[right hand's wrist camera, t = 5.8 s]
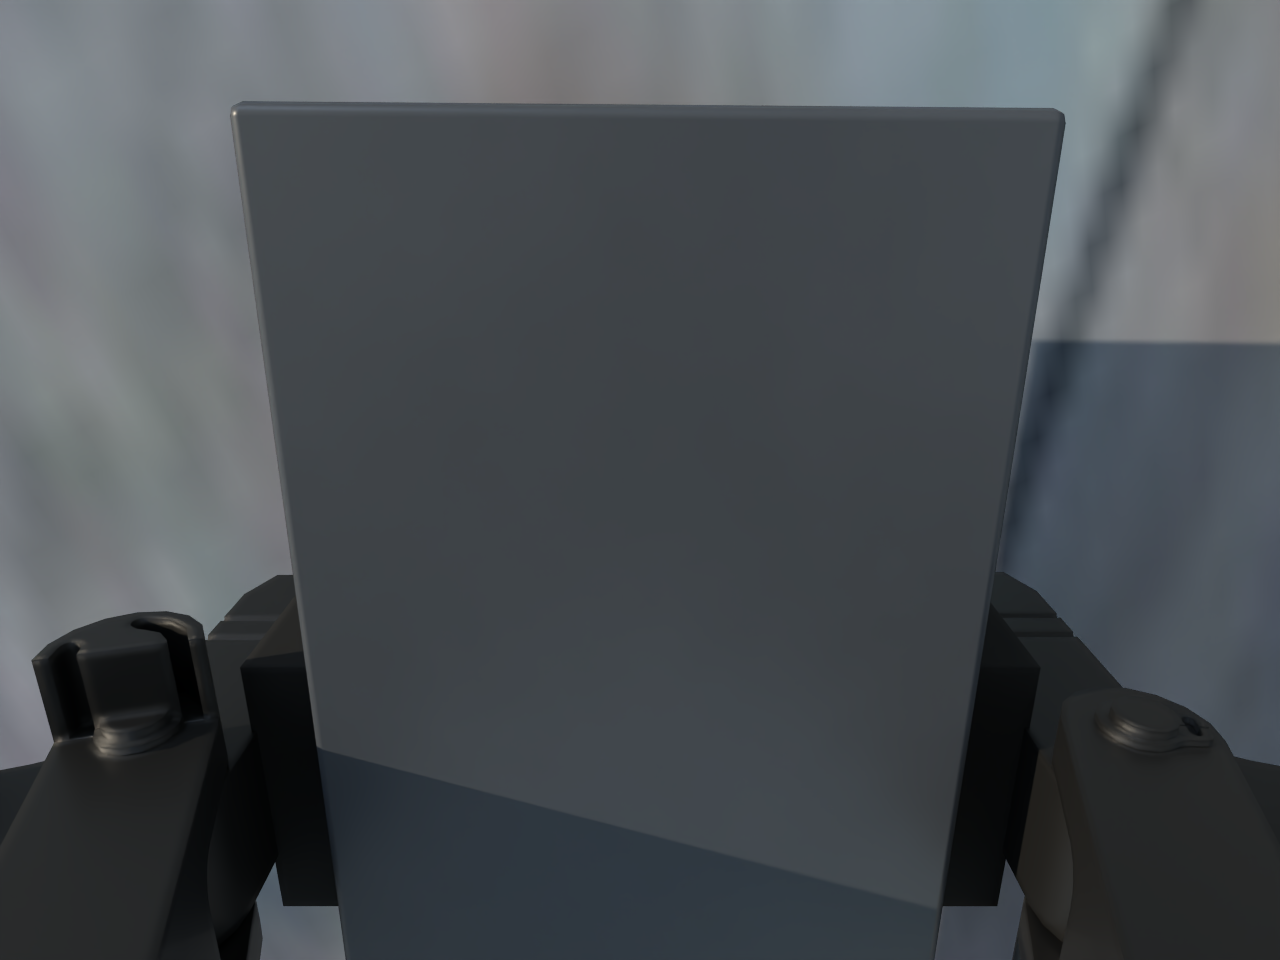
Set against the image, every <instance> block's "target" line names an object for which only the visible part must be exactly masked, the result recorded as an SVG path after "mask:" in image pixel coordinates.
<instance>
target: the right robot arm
mask: <svg viewBox="0 0 1280 960" xmlns="http://www.w3.org/2000/svg"><path fill="white" fill-rule="evenodd" d="M1056 614H1057V613H1056V612H1055V611H1054V610H1053V609H1052V608H1051V607H1050V606H1049V605H1048V603H1047V602H1046V601H1045V600H1044V599H1043V598H1042V597H1041V596H1040V594H1039V593H1038V592H1037V591H1035V590H1034V589H1032V588H1030V587H1028V586H1027V585H1025V584H1023V583H1021V582H1020V581H1018V580H1016V579H1014V578H1013V577H1011V576H1009V575H1007V574H1006V573H1004V572H995V575H994V582H993V588H992V595H991V601H990V607H989V614H988V620H987V626H986V633H985V639H984V645H983V652H982V658H981V665H980V671H979V677H978V684H977V690H976V696H975V703H974V709H973V716H972V722H971V728H970V735H969V741H968V747H967V754H966V760H965V766H964V773H963V779H962V786H961V792H960V798H959V805H958V811H957V817H956V824H955V830H954V836H953V843H952V849H951V856H950V862H949V868H948V875H947V881H946V887H945V894H944V900H943V906H997V904H998V899H999V893H1000V888H1001V882H1002V877H1003V871H1004V866H1005V860H1007V862H1008V863H1009V865H1010V867H1011V869H1012V871H1013V873H1014V875H1015V877H1016V879H1017V881H1018V883H1019V885H1020V887H1021V889H1022V891H1023V893H1024V895H1025V897H1024V902H1023V907H1022V912H1021V918H1020V923H1019V928H1018V933H1017V938H1016V943H1015V948H1014V953H1013V958H1012V960H1280V766H1276V765H1271V764H1266V763H1261V762H1255V761H1250V760H1246V759H1242V758H1238V757H1234V756H1233V754H1232V752H1231V750H1230V748H1229V747H1228V745H1227V743H1226V741H1225V740H1224V739H1223V738H1222V736H1221V735H1220V734H1219V733H1218V732H1217V731H1216V729H1215V728H1214V727H1213V726H1212V725H1211V724H1210V723H1209V722H1207V721H1206V720H1204V719H1203V718H1201V717H1200V716H1198V715H1197V714H1195V713H1194V712H1192V711H1191V710H1189V709H1188V708H1186V707H1184V706H1181V705H1179V704H1176V703H1174V702H1171V701H1169V700H1167V699H1164V698H1162V697H1159V696H1157V695H1153V694H1149V693H1145V692H1140V691H1136V690H1132V689H1127V688H1123V687H1122V686H1121V685H1120V684H1119V683H1118V682H1117V681H1116V680H1115V678H1114V677H1113V676H1112V675H1111V674H1110V673H1109V672H1108V671H1107V670H1106V668H1105V667H1104V666H1103V665H1102V664H1101V663H1100V662H1099V661H1098V659H1097V658H1096V657H1095V656H1094V655H1093V654H1092V653H1091V652H1090V650H1089V649H1088V648H1087V647H1086V646H1085V645H1084V644H1083V643H1082V641H1081V640H1080V639H1079V638H1078V637H1073V631H1072V630H1071V629H1070V628H1069V627H1068V626H1067V625H1066V624H1065V622H1064V621H1063V620H1062V619H1061V618H1057V616H1056ZM32 664H33V668H34V671H35V675H36V678H37V682H38V686H39V689H40V693H41V697H42V700H43V704H44V707H45V711H46V715H47V718H48V722H49V726H50V729H51V733H52V736H53V740H54V744H53V746H52V748H51V750H50V752H49V754H48V756H47V758H46V760H45V761H43V762H39V763H35V764H31V765H25V766H20V767H15V768H10V769H5V770H0V960H260V954H261V946H262V939H263V938H262V931H261V924H260V918H259V912H258V907H257V902H256V899H257V897H258V895H259V893H260V891H261V889H262V887H263V885H264V883H265V881H266V879H267V877H268V875H269V873H270V871H271V869H272V867H273V865H274V863H276V868H277V874H278V879H279V885H280V890H281V896H282V901H283V906H338V899H337V891H336V884H335V877H334V869H333V862H332V855H331V848H330V840H329V833H328V826H327V818H326V811H325V804H324V796H323V789H322V782H321V775H320V767H319V760H318V753H317V745H316V738H315V731H314V724H313V716H312V709H311V702H310V694H309V687H308V680H307V672H306V665H305V658H304V651H303V643H302V636H301V629H300V621H299V614H298V607H297V599H296V592H295V585H294V578H293V575H277V576H275V577H273V578H272V579H270V580H268V581H266V582H265V583H263V584H261V585H260V586H258V587H256V588H254V589H253V590H251V591H249V592H247V593H246V594H244V595H243V596H242V598H241V599H240V600H239V601H238V602H237V603H236V604H235V605H234V607H233V608H232V609H231V610H230V611H229V612H228V613H227V614H226V616H225V620H224V621H220V622H219V624H218V625H217V626H216V627H215V628H214V629H213V630H212V631H211V633H210V634H209V635H208V640H205V637H204V631H203V626H202V624H201V623H199V622H198V621H196V620H195V619H193V618H192V617H190V616H189V615H183V614H178V613H173V612H167V611H163V612H137V613H132V614H127V615H122V616H117V617H112V618H107V619H104V620H101V621H98V622H95V623H92V624H89V625H87V626H84V627H81V628H78V629H75V630H73V631H71V632H69V633H68V634H66V635H64V636H62V637H60V638H59V639H57V640H55V641H53V642H51V643H50V644H48V645H47V646H46V647H45V648H44V649H43V650H42V651H41V652H40V653H39V654H38V655H37V656H36V657H35V658H33V659H32Z"/></svg>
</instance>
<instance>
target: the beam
mask: <svg viewBox="0 0 1280 960" xmlns="http://www.w3.org/2000/svg"><path fill="white" fill-rule="evenodd" d="M230 118H231V125H232V133H233V140H234V147H235V154H236V162H237V169H238V176H239V184H240V191H241V198H242V205H243V213H244V220H245V227H246V235H247V242H248V249H249V257H250V264H251V271H252V278H253V286H254V293H255V300H256V308H257V315H258V322H259V330H260V337H261V344H262V351H263V359H264V366H265V373H266V381H267V388H268V395H269V402H270V410H271V417H272V424H273V432H274V439H275V446H276V454H277V461H278V468H279V475H280V483H281V490H282V497H283V505H284V512H285V519H286V527H287V534H288V541H289V548H290V556H291V563H292V570H293V578H294V585H295V592H296V599H297V607H298V614H299V621H300V629H301V636H302V643H303V651H304V658H305V665H306V672H307V680H308V687H309V694H310V702H311V709H312V716H313V724H314V731H315V738H316V745H317V753H318V760H319V767H320V775H321V782H322V789H323V796H324V804H325V811H326V818H327V826H328V833H329V840H330V848H331V855H332V862H333V869H334V877H335V884H336V891H337V899H338V906H339V913H340V921H341V928H342V935H343V942H344V950H345V957H346V960H934V957H935V951H936V945H937V938H938V932H939V926H940V919H941V913H942V906H943V900H944V894H945V887H946V881H947V875H948V868H949V862H950V856H951V849H952V843H953V836H954V830H955V824H956V817H957V811H958V805H959V798H960V792H961V786H962V779H963V773H964V766H965V760H966V754H967V747H968V741H969V735H970V728H971V722H972V716H973V709H974V703H975V696H976V690H977V684H978V677H979V671H980V665H981V658H982V652H983V645H984V639H985V633H986V626H987V620H988V614H989V607H990V601H991V595H992V588H993V582H994V575H995V569H996V563H997V556H998V550H999V544H1000V537H1001V531H1002V525H1003V518H1004V512H1005V505H1006V499H1007V493H1008V486H1009V480H1010V474H1011V467H1012V461H1013V454H1014V448H1015V442H1016V435H1017V429H1018V423H1019V416H1020V410H1021V404H1022V397H1023V391H1024V384H1025V378H1026V372H1027V365H1028V359H1029V353H1030V346H1031V340H1032V334H1033V327H1034V321H1035V314H1036V308H1037V302H1038V295H1039V289H1040V283H1041V276H1042V270H1043V264H1044V257H1045V251H1046V244H1047V238H1048V232H1049V225H1050V219H1051V213H1052V206H1053V200H1054V193H1055V187H1056V181H1057V174H1058V168H1059V162H1060V155H1061V149H1062V143H1063V136H1064V130H1065V116H1064V114H1063V113H1062V112H1060V111H1058V110H1056V109H1054V108H969V107H851V106H733V105H616V104H498V103H381V102H263V101H242V102H240V103H238V104H236V105H234V106H233V107H232V109H231V115H230Z"/></svg>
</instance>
